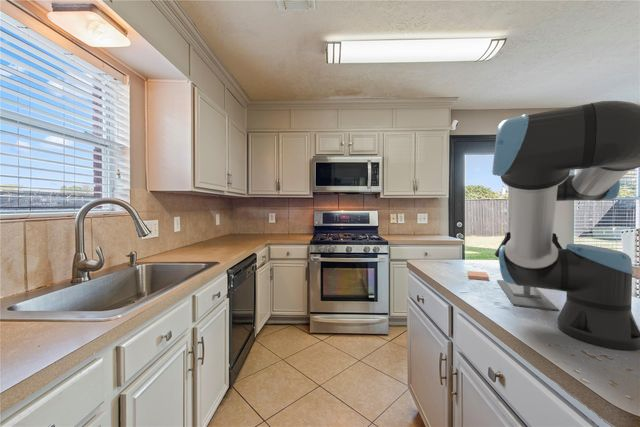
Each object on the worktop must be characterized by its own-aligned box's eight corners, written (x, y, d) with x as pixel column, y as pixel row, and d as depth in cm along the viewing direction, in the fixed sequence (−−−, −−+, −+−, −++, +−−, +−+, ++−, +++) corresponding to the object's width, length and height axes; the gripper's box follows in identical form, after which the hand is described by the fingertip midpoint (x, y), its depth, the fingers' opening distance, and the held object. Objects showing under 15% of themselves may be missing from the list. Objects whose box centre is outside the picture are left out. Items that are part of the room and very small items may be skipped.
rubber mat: (558, 311, 83) (558, 309, 83) (513, 305, 88) (513, 303, 88) (530, 284, 110) (530, 282, 110) (496, 281, 115) (496, 279, 115)
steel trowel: (548, 305, 86) (548, 279, 85) (518, 302, 89) (518, 276, 89) (528, 285, 106) (528, 263, 106) (504, 283, 110) (504, 262, 110)
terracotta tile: (488, 277, 116) (486, 272, 124) (468, 275, 120) (467, 270, 128) (488, 281, 116) (486, 276, 124) (468, 279, 120) (467, 274, 128)
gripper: (572, 218, 88) (571, 279, 89) (486, 218, 99) (486, 273, 100) (582, 219, 81) (582, 286, 82) (489, 219, 92) (489, 277, 93)
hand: (529, 279), depth 91 cm, fingers open, 13 cm apart
